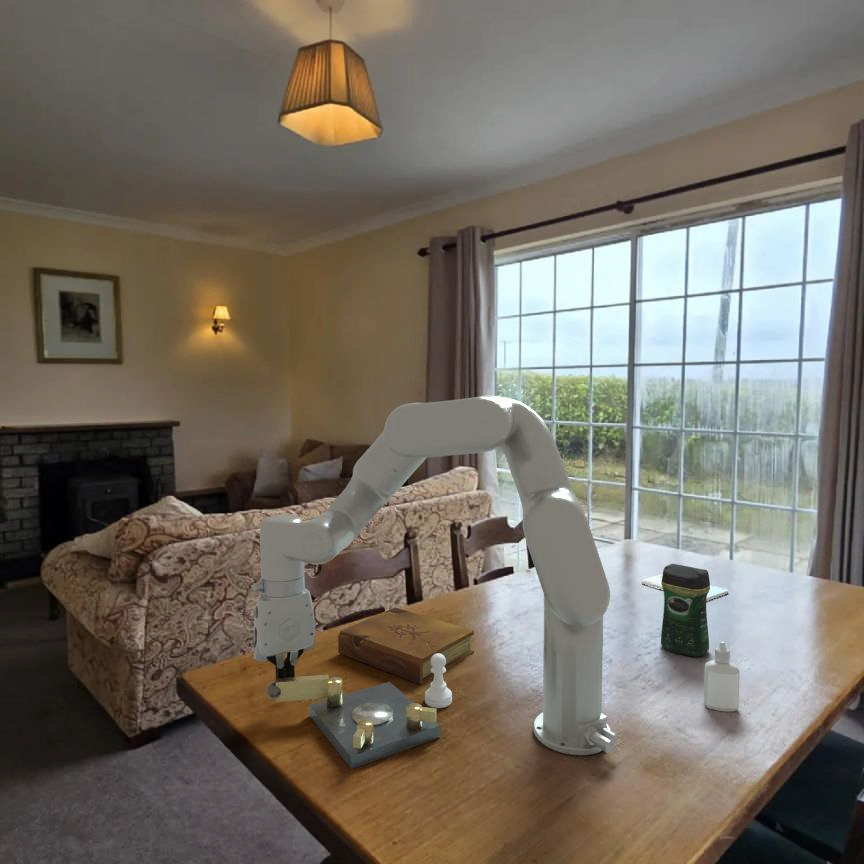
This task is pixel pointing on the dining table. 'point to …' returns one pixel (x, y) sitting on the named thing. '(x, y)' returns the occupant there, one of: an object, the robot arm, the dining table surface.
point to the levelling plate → (375, 724)
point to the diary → (405, 643)
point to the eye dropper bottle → (721, 682)
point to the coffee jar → (685, 610)
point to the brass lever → (307, 689)
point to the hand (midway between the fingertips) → (285, 685)
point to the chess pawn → (438, 684)
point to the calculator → (712, 594)
